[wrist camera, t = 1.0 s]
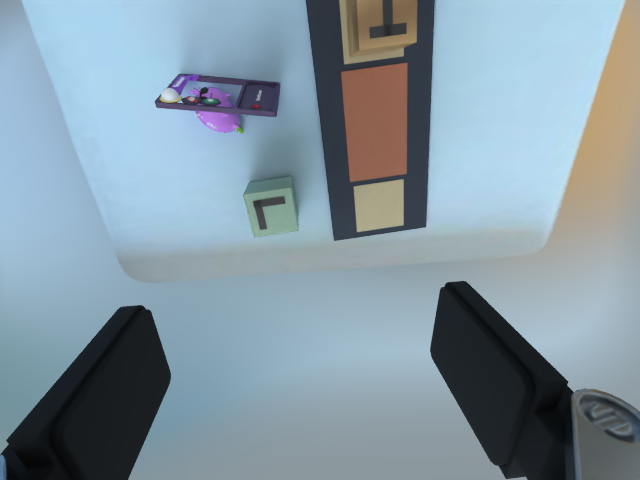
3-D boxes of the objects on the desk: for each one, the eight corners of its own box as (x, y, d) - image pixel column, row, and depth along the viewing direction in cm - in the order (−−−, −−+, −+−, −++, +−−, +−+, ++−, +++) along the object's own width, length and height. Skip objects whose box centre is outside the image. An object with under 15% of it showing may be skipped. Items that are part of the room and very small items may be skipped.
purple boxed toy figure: (276, 102, 22) (150, 91, 21) (276, 163, 26) (169, 156, 25) (280, 73, 27) (177, 64, 26) (280, 129, 31) (189, 122, 30)
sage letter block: (249, 181, 31) (242, 194, 27) (291, 175, 32) (290, 187, 27) (258, 220, 33) (253, 238, 29) (297, 214, 34) (298, 231, 29)
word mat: (304, -17, 25) (304, -20, 24) (433, -35, 25) (436, -38, 24) (333, 239, 35) (334, 241, 35) (424, 225, 35) (426, 227, 35)
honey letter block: (345, -6, 25) (355, -26, 21) (398, -13, 25) (418, -34, 21) (349, 57, 27) (359, 50, 23) (398, 50, 27) (417, 42, 23)
